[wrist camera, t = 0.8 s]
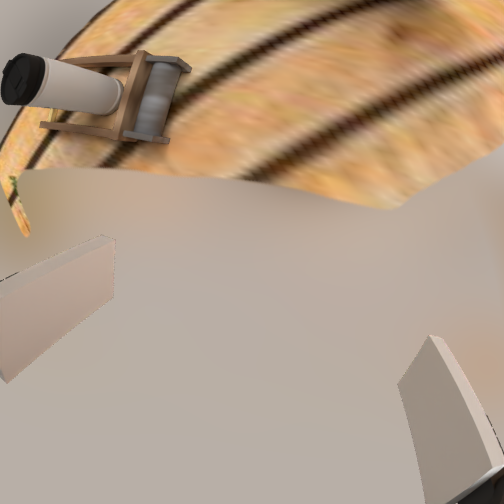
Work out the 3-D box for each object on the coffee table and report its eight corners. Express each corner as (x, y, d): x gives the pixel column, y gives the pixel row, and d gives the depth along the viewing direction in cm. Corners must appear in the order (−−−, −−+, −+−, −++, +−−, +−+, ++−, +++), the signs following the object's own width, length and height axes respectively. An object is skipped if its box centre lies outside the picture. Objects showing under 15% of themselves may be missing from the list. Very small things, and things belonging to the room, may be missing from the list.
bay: (68, 63, 34) (50, 58, 30) (193, 63, 32) (179, 51, 27) (50, 127, 38) (31, 127, 34) (167, 148, 36) (149, 147, 32)
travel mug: (112, 71, 34) (18, 42, 15) (131, 93, 35) (30, 66, 16) (89, 99, 36) (-7, 86, 17) (106, 123, 37) (3, 115, 18)
